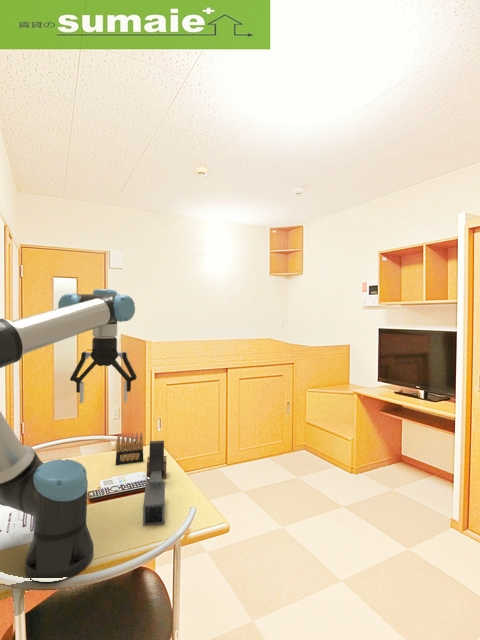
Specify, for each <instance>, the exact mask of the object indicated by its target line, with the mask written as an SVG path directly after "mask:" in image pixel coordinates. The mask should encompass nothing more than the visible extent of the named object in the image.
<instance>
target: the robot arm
mask: <svg viewBox="0 0 480 640" xmlns="http://www.w3.org/2000/svg"><path fill="white" fill-rule="evenodd" d="M57 305H58V306H57V307H58V308H55V309H51V310H48V311H47V310H46V311H44V312H41V313H36V314H33V315H28V316H26V317H21V318H18V319H14V320H8V319H7V318H0V369H2V368H4V367H7V366H9V365H12V364H14V363H18V362H19V361H21V360H22V358H23V356H24V355H25V354H27V353H30V352H33V351H36V350H39V349H41V348H42V349H43V348H45V347H47V346H51V345H52V344H55V343H59V342H61V341H65V340H66V339H70V338H73V337H75V336H77V335H80V334H83V333H87V332H88V331H92V334H91V335H92V336H93V338H92V341H91V343H92V349H91V352H87V351H85V350H84V351H83V352H82V353H81V355H80V356H81V357H80V360H79V361H78V364H77V365H76V367H75V369H74V371H73V373H72V375H70V379H69V380H70V381H71V382H75V384H76V385H75V386H76V387H75V388H76V390H75V391H76V393H78V394H79V404H80V405H81V404H83V403H84V402H85V381H83V379H84V378H86V376H87V375H88V374H90V372H91V371H92V369H94V368H95V366H96V365H97V366H98V367H103V366H106V367H110V366H112V367H113V368H115V370H116V371H117V372H118V373H119V374H120V375H121V376H122V378H123V379H124V380H125V381H124V382H123V387H124V388H123V389H124V391H123V392H124V393H123V402H124V403H127V402H128V392H131V390H132V382H133V381H136V380H137V378H138V376H137V374H136V372H135V370H134V368H133V366H132V365H131V361H129V358H128V352H127V351H123V352H118V338H117V336H118V322H119V323H120V322H121V323H122V322H128V321H131V319H132V318H133V317H134V315H135V312H136V306H135V302H134V299H133V298H132V297H131V296H129V295H128V294H127V295H126V294H120V293H118V292H117V291H116V290H115V289H102V288H96V289H93V290H92V294H91V293H86V294H84V293H66V294H64V295H61V297H60V299H59V300H58V304H57ZM89 357H91V359H92V360H93V362H91V363H90V365H89V366H88V367H87V368H86V369H85V370H84V371H83V372H82V373H81V374H80V376H79V377H78V375H79V373H80V371H81V370H82V368H83V367H84V364H85V362H86V360H87V359H89ZM118 357H119V358H120V359H121V360H122V362H123V363H124V365H125V367H126V370H127V371H128V372H129V374H128V373H127V372H126V371H125V370H124V369H123V367H122V366H121V365H120V364H119V362H118V361H117V358H118ZM88 481H89V480H88V475H87V469H86V468H85V466H84V465H83V464H82V463H80V462H78V461H77V460H73V459H68V458H67V459H61V458H59V459H52V460H49V461H46V462H44V461H42V460H41V459H40V457H39V455H38V453H36V451H35V449H34V448H33V447H32V446H30V445H27V444H25V445H24V444H22V442H21V441H20V439H19V438H18V437H17V435H16V433H15V432H14V430H13V428H12V427H11V426H10V424H9V423H8V421H7V420H6V418H5V416H4V415H3V413H2V412H1V411H0V505H1V506H3V507H10V508H11V509H14V510H16V511H20V512H22V513H25V514H28V515H29V516H30V515H31V516H32V517H33V536H32V540H31V543H30V545H29V548H28V551H27V553H26V556H25V563H24V572H25V575H26V577H27V578H28V577H30V578H63V577H70V578H72V577H74V576H76V575H78V574H80V572H83V570H85V569H86V568H87V567H88V565H90V564H91V562H92V560H93V558H94V541H93V538H92V536H91V534H90V531H89V528H88V525H87V509H88V508H87V507H88V485H89V482H88Z"/></svg>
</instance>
